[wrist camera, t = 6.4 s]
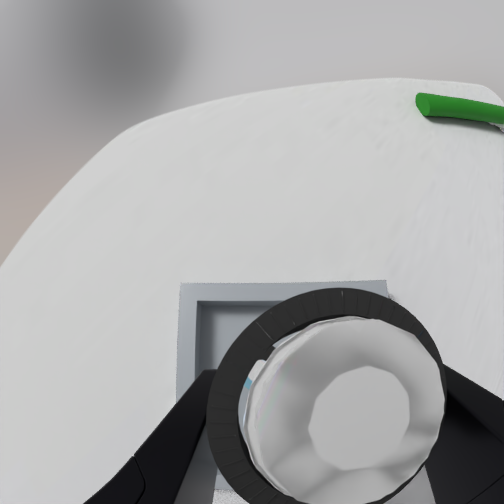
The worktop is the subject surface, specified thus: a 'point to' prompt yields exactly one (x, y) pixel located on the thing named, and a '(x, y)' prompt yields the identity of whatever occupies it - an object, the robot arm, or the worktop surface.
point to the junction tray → (232, 325)
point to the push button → (327, 401)
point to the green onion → (460, 109)
